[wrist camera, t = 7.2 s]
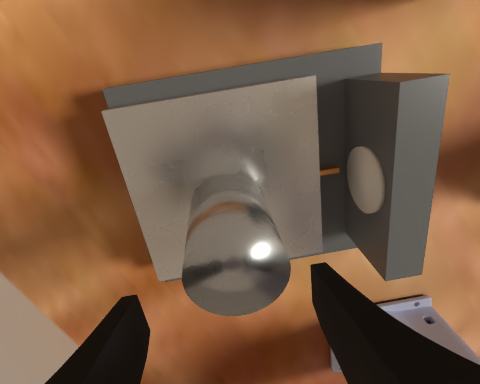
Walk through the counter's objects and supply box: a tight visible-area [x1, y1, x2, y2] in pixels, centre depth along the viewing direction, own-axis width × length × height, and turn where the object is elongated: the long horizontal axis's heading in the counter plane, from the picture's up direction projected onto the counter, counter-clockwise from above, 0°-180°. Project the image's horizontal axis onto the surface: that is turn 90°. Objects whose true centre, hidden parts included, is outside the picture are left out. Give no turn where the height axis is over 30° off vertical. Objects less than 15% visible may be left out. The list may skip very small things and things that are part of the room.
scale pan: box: [101, 75, 339, 281], centre depth 17 cm, size 12×11×1 cm
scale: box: [102, 43, 450, 282], centre depth 16 cm, size 15×13×8 cm
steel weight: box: [182, 174, 291, 316], centre depth 14 cm, size 4×4×6 cm
